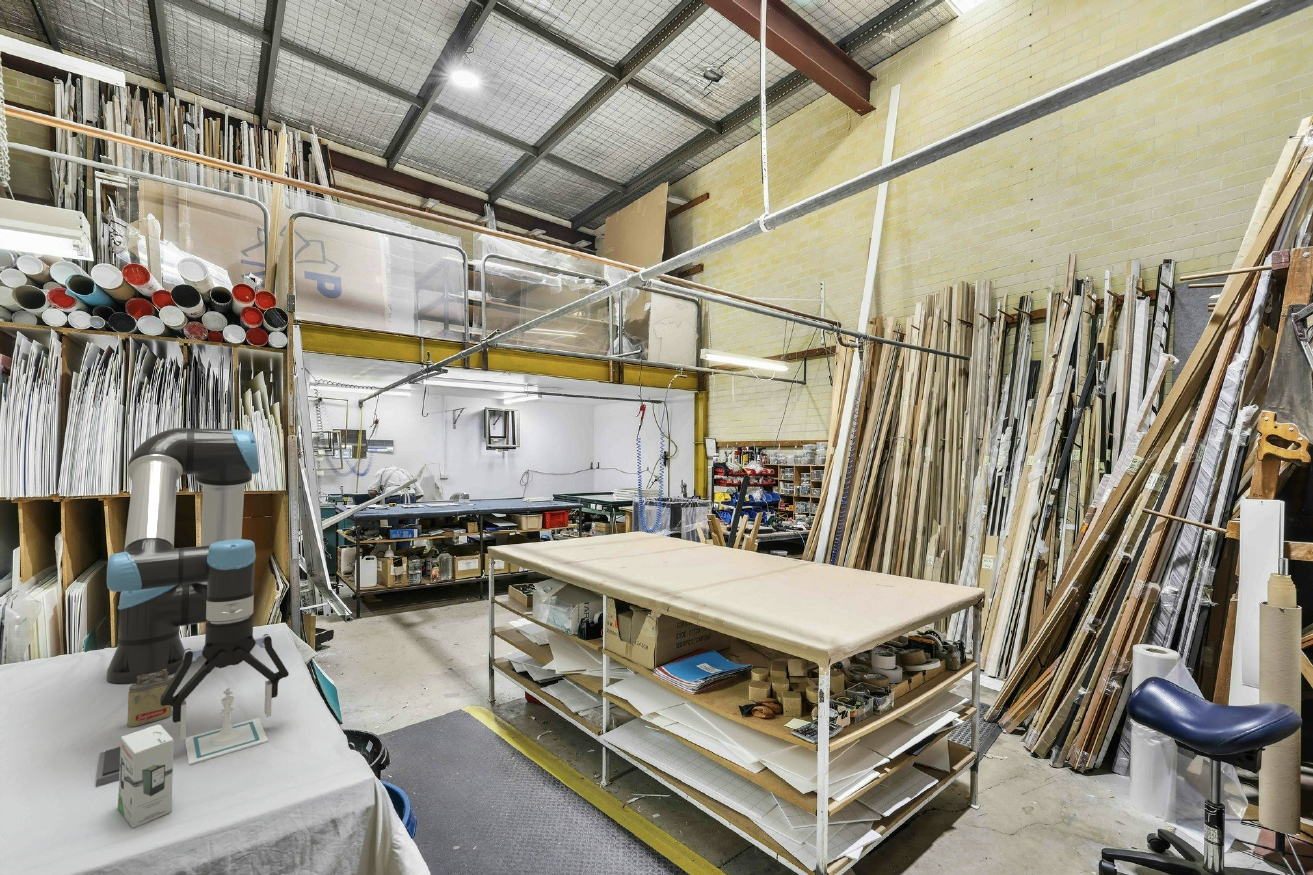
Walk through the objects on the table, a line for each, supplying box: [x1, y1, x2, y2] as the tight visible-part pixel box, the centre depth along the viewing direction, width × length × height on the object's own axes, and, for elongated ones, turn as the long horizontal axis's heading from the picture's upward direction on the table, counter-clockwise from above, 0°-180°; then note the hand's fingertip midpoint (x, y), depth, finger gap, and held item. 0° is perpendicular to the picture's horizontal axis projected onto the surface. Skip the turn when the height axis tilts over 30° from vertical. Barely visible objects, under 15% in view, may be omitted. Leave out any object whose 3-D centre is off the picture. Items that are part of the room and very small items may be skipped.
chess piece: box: [211, 687, 242, 746], centre depth 108 cm, size 5×5×10 cm
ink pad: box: [95, 746, 121, 787], centre depth 100 cm, size 11×8×2 cm
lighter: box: [126, 669, 173, 728], centre depth 116 cm, size 7×4×10 cm, turn 140°
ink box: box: [117, 724, 175, 829], centre depth 88 cm, size 9×5×12 cm, turn 56°
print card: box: [184, 717, 269, 766], centre depth 108 cm, size 12×12×1 cm
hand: (226, 725), depth 108 cm, fingers open, 13 cm apart
